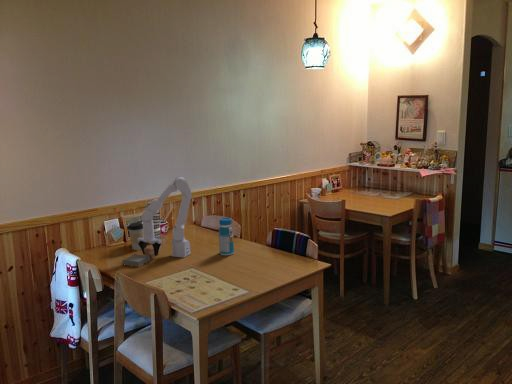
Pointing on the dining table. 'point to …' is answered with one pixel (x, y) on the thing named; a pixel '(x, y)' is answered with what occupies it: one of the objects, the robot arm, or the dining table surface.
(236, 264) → the dining table surface
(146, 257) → the charcoal plinth
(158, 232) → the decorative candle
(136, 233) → the coffee cup
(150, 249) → the terracotta block
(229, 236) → the beverage bottle
